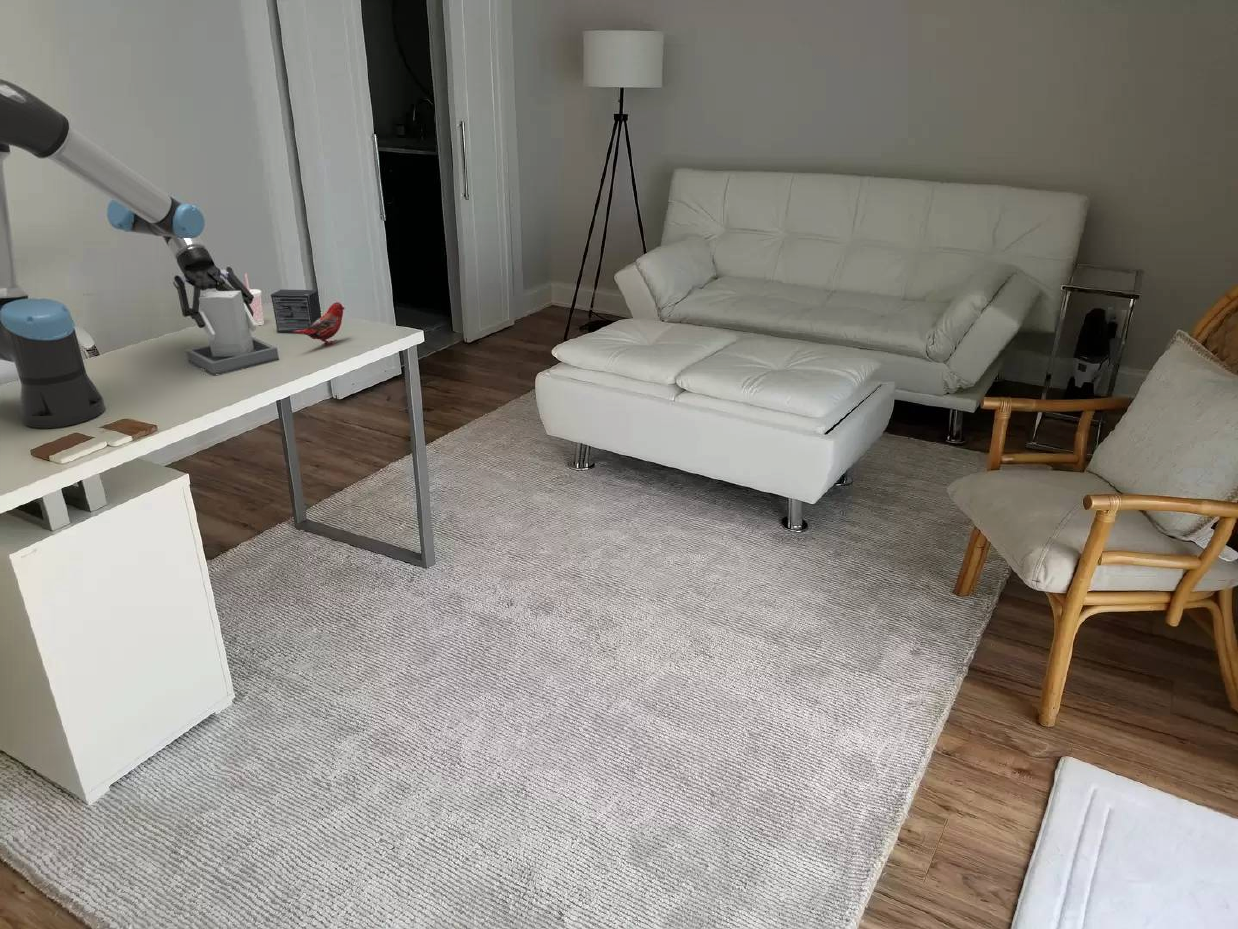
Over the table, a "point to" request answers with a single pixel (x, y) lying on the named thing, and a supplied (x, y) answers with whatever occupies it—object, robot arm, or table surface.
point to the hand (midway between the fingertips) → (233, 332)
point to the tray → (232, 358)
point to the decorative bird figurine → (325, 325)
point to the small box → (295, 309)
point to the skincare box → (227, 323)
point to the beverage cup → (256, 304)
